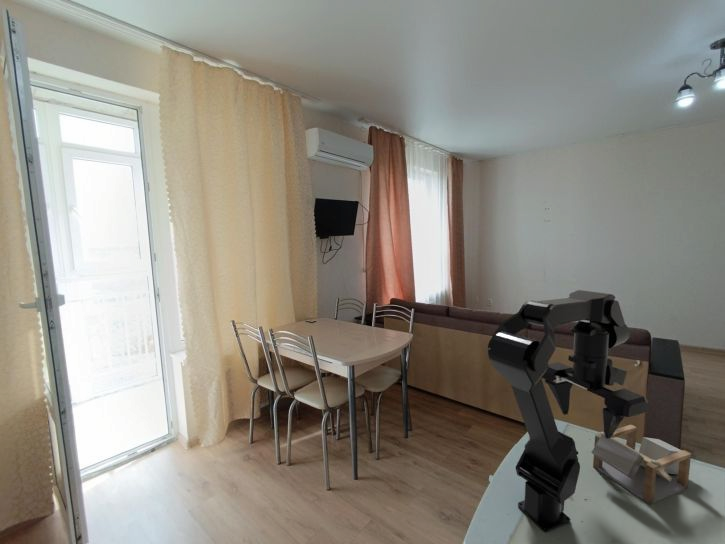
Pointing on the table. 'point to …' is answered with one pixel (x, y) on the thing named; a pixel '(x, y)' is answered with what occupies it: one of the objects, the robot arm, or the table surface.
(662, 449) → the light grey block
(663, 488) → the mat
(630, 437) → the frame
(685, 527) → the table surface
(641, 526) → the table surface
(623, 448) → the trapdoor
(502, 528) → the table surface
